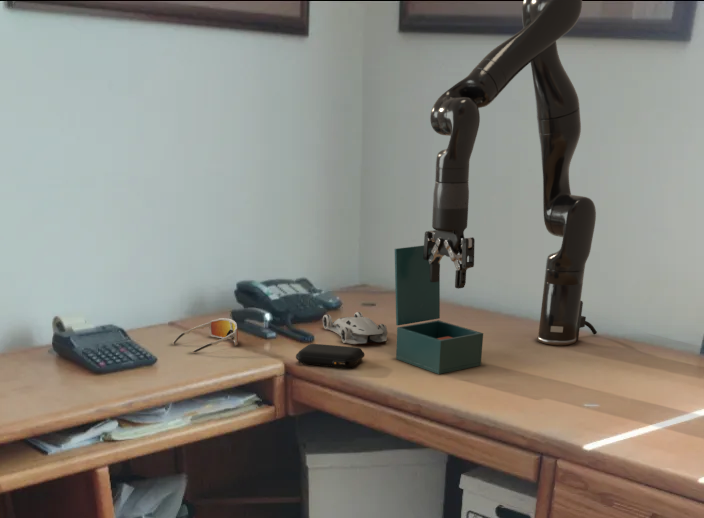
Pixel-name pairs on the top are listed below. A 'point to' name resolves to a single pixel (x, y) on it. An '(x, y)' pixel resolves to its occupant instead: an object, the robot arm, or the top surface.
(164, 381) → the top surface
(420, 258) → the tin lid
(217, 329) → the sunglasses
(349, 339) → the car model
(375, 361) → the top surface
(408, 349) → the lunch tin
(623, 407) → the top surface
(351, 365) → the carrying case
